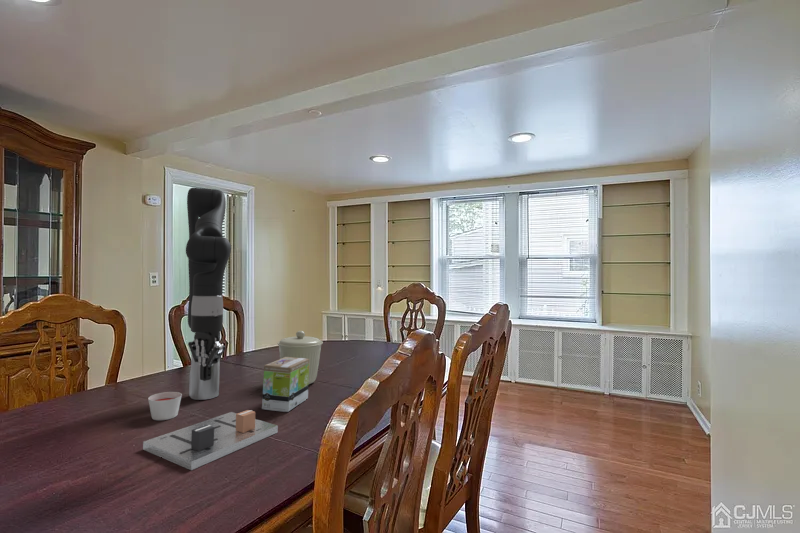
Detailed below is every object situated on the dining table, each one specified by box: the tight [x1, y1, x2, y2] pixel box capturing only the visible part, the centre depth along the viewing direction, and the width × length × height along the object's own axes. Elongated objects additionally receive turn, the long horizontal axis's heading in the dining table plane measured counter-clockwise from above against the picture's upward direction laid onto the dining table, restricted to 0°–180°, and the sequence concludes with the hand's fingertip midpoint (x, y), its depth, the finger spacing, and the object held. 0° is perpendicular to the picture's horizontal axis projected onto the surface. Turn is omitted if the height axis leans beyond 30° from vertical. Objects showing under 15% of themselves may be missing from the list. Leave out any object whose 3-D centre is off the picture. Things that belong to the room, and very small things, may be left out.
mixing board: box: [142, 411, 279, 471], centre depth 110 cm, size 20×26×2 cm
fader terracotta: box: [236, 409, 256, 433], centre depth 113 cm, size 3×4×5 cm
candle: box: [147, 391, 183, 421], centre depth 127 cm, size 9×9×6 cm
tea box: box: [261, 357, 310, 413], centre depth 141 cm, size 15×10×15 cm
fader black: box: [191, 425, 214, 451], centre depth 101 cm, size 3×4×5 cm
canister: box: [276, 330, 324, 385], centre depth 167 cm, size 18×18×21 cm
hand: (205, 379), depth 106 cm, fingers closed
